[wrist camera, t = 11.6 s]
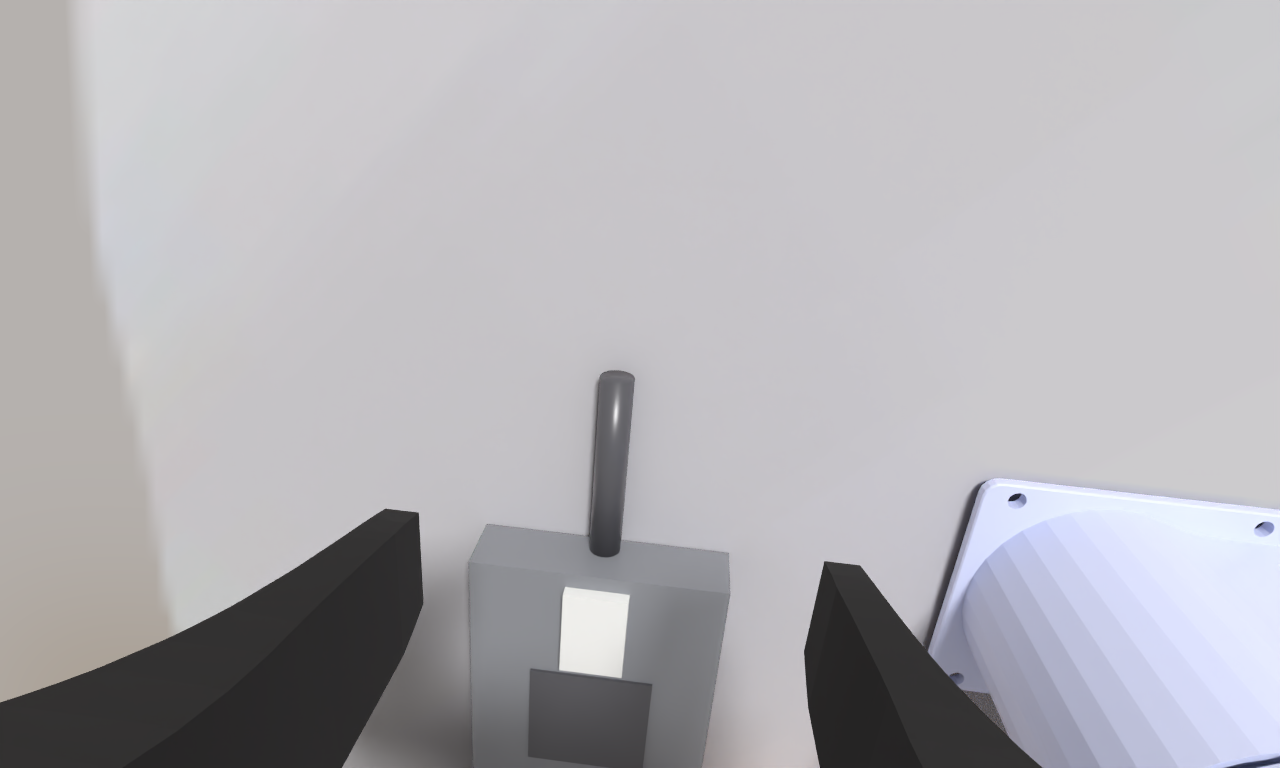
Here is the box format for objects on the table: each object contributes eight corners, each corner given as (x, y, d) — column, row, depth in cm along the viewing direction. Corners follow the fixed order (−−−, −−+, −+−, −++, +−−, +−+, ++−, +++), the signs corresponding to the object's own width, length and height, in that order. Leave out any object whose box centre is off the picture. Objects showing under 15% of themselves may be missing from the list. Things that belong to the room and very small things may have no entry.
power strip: (755, 385, 21) (760, 422, 19) (674, 897, 31) (671, 960, 29) (485, 356, 22) (460, 389, 20) (489, 871, 32) (472, 931, 29)
